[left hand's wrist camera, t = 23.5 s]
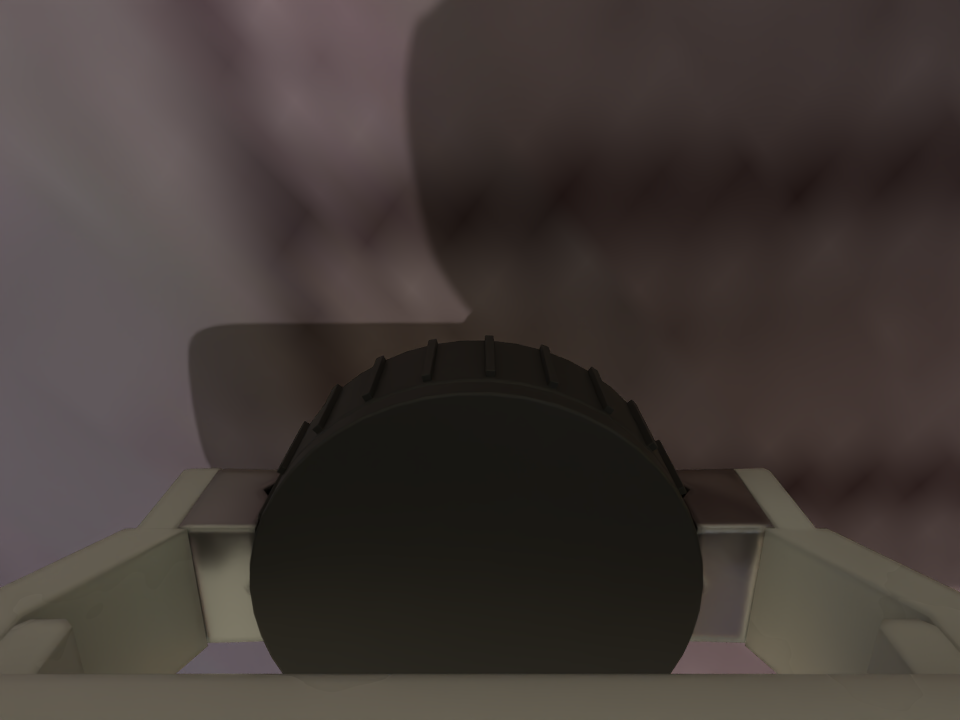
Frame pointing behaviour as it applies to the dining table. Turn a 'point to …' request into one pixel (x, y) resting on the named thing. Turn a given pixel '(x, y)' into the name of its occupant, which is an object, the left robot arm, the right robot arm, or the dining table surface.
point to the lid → (476, 525)
